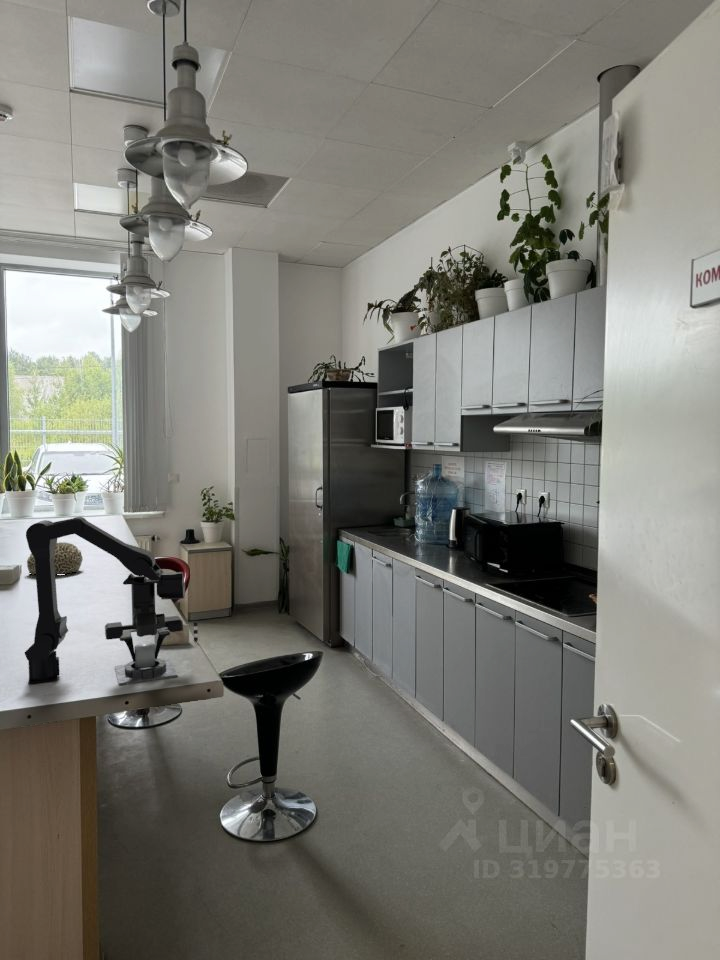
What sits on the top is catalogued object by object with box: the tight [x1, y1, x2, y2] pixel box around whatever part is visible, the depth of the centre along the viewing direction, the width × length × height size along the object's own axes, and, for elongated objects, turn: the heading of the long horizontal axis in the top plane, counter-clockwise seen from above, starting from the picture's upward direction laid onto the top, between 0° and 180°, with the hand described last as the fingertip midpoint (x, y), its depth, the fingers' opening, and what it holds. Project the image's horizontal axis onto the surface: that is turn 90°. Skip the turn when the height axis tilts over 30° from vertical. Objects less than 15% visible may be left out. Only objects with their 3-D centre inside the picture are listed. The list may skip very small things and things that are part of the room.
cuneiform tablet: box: [161, 621, 199, 646], centre depth 196 cm, size 6×4×12 cm
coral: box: [26, 541, 83, 575], centre depth 303 cm, size 23×18×15 cm
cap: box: [134, 642, 155, 668], centre depth 172 cm, size 5×5×5 cm
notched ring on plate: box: [114, 657, 179, 686], centre depth 172 cm, size 14×14×2 cm
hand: (145, 660), depth 172 cm, fingers closed on cap, 5 cm apart
